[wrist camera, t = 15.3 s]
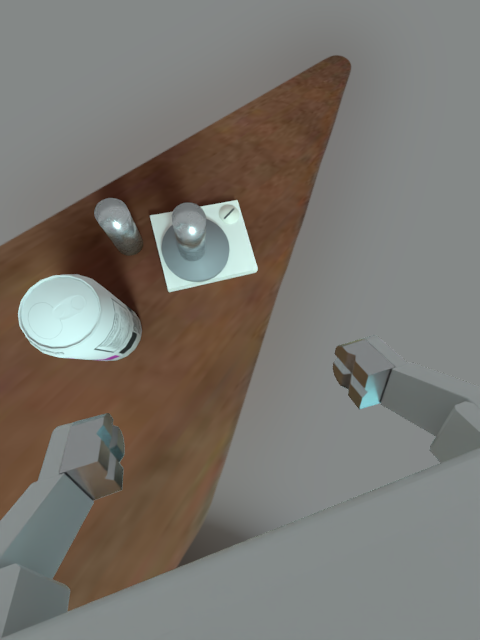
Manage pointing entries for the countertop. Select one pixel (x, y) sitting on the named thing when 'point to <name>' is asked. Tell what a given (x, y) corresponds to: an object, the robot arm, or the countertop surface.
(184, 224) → the glossy grey rounded cylinder
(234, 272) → the scale
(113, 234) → the cylinder
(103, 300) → the supplement can
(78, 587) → the countertop surface
